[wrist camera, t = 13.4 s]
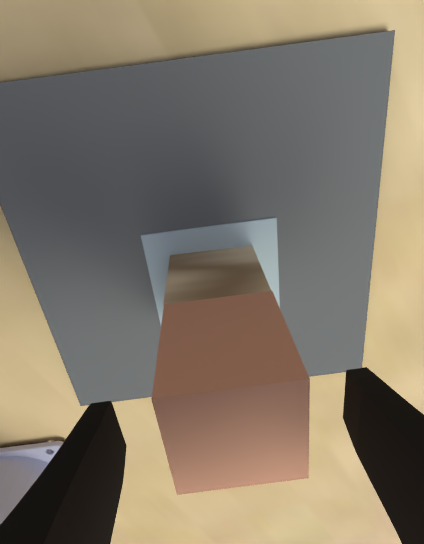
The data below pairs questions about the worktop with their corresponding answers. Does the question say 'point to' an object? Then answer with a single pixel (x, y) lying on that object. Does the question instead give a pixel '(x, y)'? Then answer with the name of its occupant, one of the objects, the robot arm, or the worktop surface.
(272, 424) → the terracotta block
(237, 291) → the maple block
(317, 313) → the mat
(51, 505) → the robot arm
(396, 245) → the worktop surface
